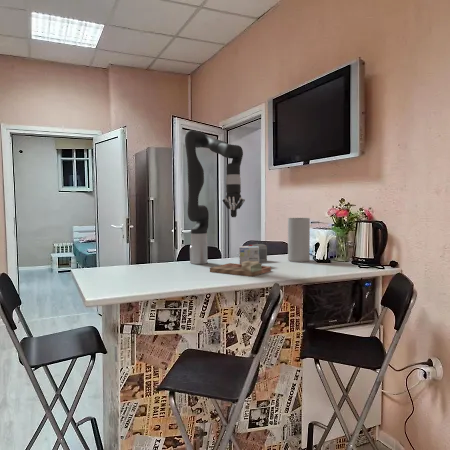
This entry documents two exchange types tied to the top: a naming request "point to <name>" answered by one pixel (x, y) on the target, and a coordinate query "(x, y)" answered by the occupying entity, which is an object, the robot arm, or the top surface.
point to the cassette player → (262, 252)
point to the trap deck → (240, 269)
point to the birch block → (248, 265)
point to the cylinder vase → (299, 239)
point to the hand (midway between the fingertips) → (233, 217)
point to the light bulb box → (249, 253)
